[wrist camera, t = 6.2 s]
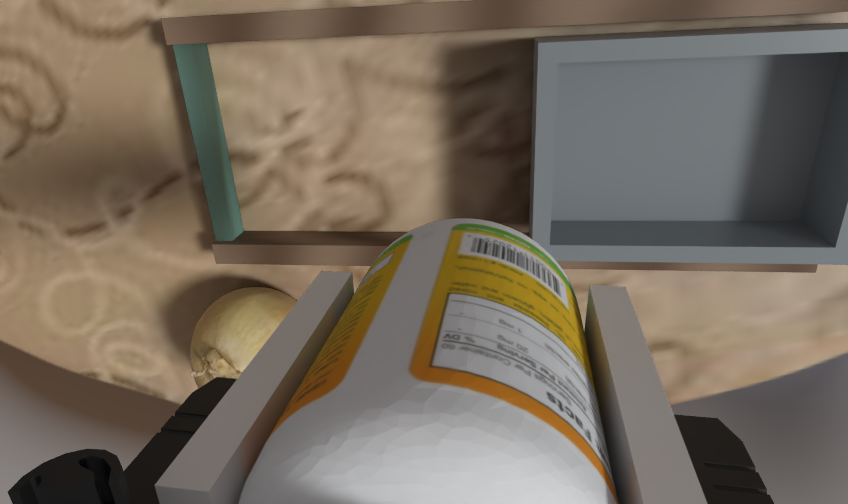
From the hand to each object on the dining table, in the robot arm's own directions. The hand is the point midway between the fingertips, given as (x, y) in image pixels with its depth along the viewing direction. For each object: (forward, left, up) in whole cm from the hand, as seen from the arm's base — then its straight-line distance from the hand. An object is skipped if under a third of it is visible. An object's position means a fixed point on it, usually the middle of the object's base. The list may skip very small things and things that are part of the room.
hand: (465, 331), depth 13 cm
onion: (-14, -11, -18) cm, 25 cm away
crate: (+9, +1, -17) cm, 19 cm away
